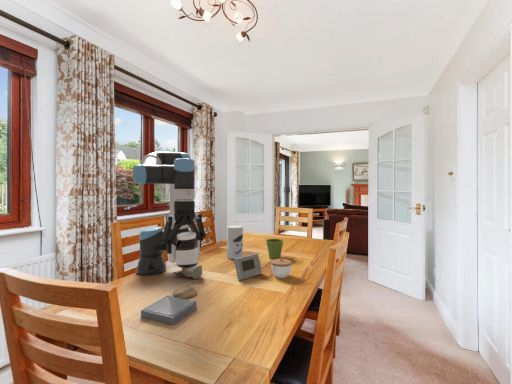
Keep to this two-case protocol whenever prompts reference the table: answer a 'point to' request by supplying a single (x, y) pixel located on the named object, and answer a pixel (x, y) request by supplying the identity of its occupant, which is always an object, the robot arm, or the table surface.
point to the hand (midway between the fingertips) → (184, 259)
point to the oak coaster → (185, 292)
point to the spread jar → (186, 250)
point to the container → (234, 242)
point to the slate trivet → (169, 309)
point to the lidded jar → (281, 267)
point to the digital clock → (248, 266)
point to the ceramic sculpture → (190, 272)
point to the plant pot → (274, 248)
